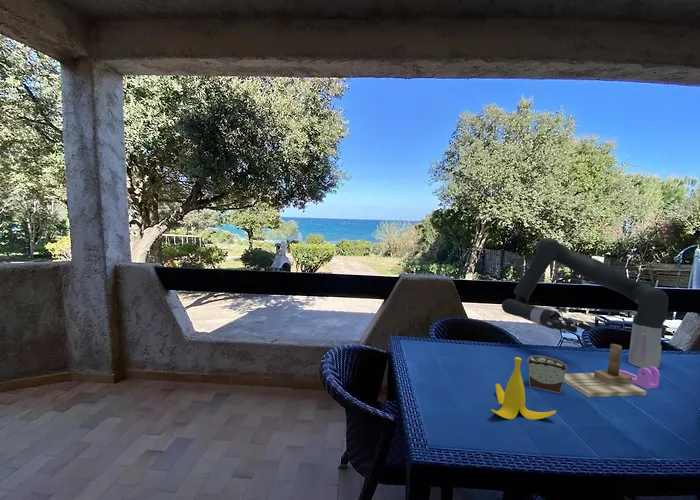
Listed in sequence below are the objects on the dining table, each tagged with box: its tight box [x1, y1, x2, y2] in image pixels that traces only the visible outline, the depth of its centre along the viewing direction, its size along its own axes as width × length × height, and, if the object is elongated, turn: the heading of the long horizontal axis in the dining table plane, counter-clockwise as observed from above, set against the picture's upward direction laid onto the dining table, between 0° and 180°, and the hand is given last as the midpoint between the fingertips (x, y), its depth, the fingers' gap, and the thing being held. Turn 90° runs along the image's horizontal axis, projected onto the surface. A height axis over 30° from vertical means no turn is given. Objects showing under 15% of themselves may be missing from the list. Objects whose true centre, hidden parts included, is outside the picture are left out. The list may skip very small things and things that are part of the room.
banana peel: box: [490, 356, 557, 421], centre depth 99 cm, size 17×19×17 cm
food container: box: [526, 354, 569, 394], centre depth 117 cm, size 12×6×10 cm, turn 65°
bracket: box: [619, 366, 661, 390], centre depth 125 cm, size 13×6×7 cm, turn 18°
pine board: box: [563, 372, 647, 398], centre depth 119 cm, size 22×14×2 cm, turn 98°
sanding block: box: [593, 343, 633, 386], centre depth 119 cm, size 9×6×13 cm, turn 98°
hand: (583, 329), depth 129 cm, fingers open, 8 cm apart
